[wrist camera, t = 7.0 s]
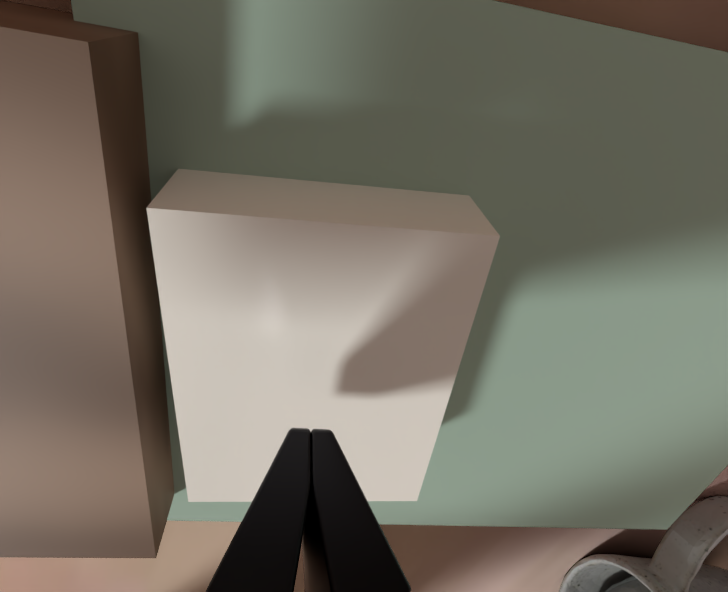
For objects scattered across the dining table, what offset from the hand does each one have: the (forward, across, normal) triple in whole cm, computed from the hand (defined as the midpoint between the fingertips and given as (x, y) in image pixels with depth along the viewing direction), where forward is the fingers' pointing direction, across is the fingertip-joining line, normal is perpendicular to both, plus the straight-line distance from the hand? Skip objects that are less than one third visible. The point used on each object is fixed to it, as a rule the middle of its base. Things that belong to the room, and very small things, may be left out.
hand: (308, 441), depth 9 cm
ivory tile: (+3, 0, 0) cm, 3 cm away
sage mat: (+4, -5, 0) cm, 7 cm away
